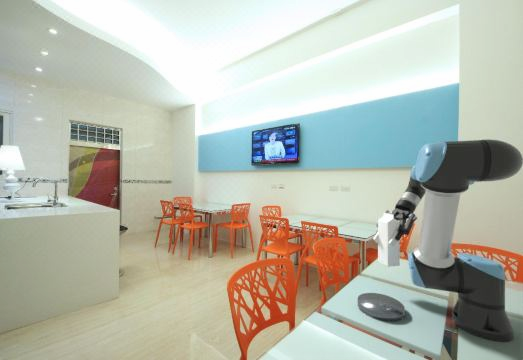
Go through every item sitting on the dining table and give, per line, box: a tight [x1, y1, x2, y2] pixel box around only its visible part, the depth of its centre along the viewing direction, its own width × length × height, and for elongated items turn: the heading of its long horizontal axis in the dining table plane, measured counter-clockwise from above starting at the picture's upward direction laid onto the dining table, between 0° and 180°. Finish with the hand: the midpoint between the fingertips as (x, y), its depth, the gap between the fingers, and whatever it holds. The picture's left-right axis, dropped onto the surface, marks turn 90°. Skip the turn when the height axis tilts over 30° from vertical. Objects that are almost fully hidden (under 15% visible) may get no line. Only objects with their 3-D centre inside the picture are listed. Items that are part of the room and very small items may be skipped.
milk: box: [377, 212, 401, 267], centre depth 103 cm, size 6×6×22 cm
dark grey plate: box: [357, 292, 406, 322], centre depth 90 cm, size 16×16×2 cm
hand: (382, 242), depth 102 cm, fingers closed on milk, 7 cm apart
